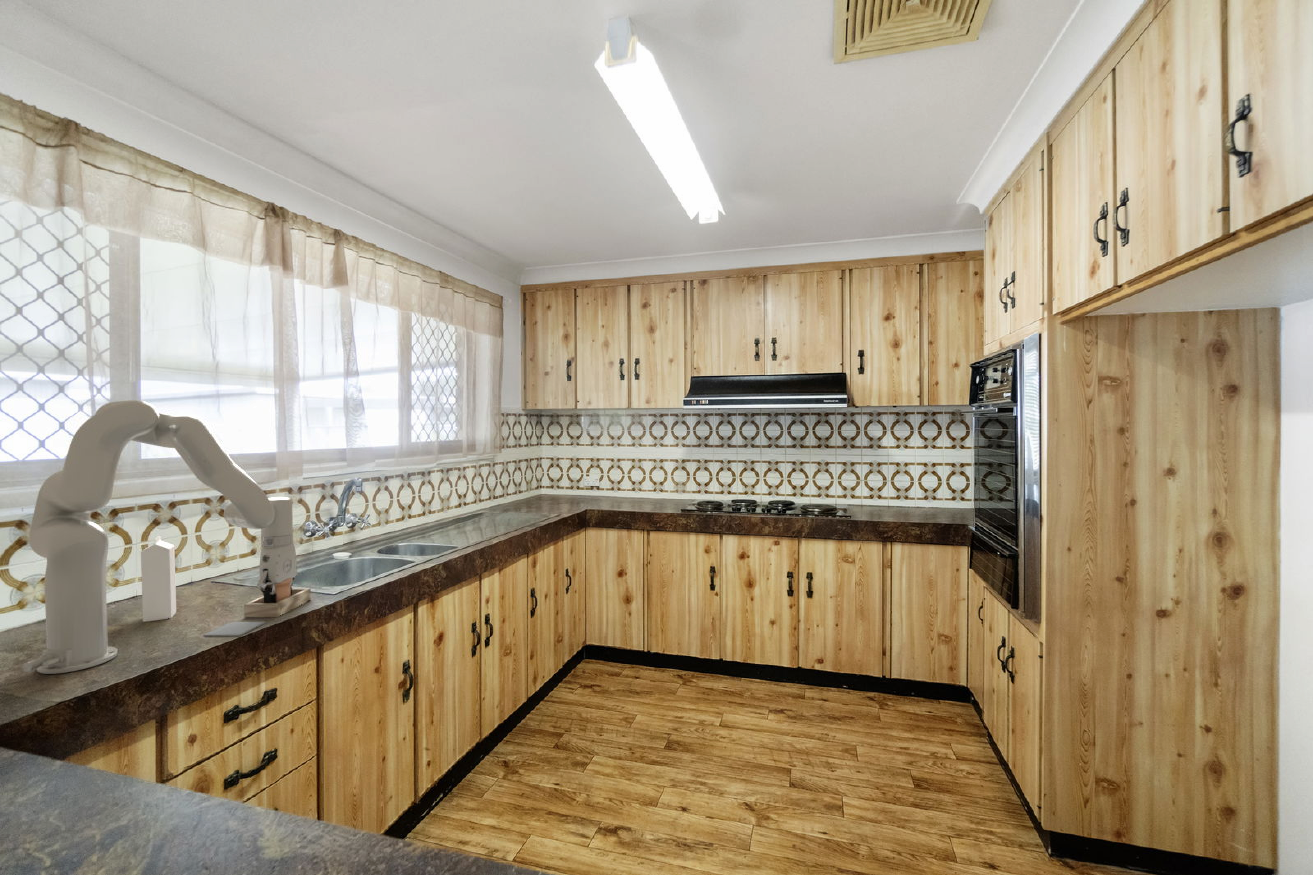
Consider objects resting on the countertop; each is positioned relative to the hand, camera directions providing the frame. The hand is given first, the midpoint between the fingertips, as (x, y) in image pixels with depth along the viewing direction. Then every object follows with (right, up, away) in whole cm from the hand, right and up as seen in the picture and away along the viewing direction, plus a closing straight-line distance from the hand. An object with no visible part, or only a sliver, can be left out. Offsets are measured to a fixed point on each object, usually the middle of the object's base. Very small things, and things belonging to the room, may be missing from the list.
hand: (278, 603), depth 164 cm
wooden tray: (0, -1, 0) cm, 1 cm away
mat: (0, -2, -17) cm, 17 cm away
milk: (-28, -2, -7) cm, 29 cm away
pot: (0, -1, 0) cm, 1 cm away
